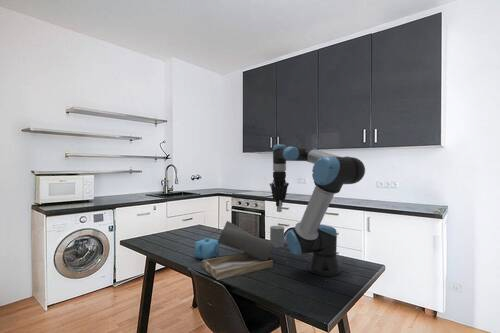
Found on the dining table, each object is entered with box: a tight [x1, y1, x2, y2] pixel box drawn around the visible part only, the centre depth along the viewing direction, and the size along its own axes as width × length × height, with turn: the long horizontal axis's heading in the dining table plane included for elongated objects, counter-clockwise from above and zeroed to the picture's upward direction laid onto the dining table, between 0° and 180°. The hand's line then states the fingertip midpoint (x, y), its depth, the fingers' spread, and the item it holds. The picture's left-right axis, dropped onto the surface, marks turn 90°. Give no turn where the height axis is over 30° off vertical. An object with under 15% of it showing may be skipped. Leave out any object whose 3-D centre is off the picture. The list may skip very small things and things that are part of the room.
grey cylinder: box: [269, 225, 285, 248], centre depth 183 cm, size 10×10×12 cm
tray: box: [201, 252, 274, 281], centre depth 143 cm, size 19×32×4 cm, turn 122°
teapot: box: [194, 237, 220, 260], centre depth 157 cm, size 16×18×11 cm
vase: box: [217, 220, 274, 261], centre depth 155 cm, size 12×12×30 cm
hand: (279, 211), depth 157 cm, fingers closed
